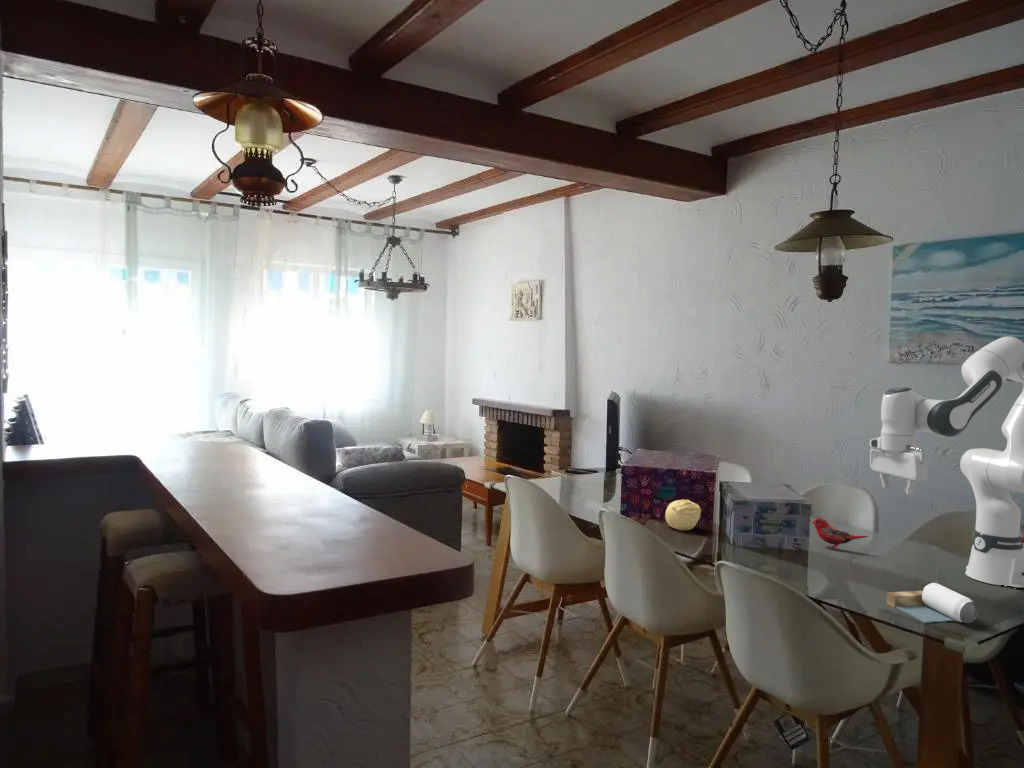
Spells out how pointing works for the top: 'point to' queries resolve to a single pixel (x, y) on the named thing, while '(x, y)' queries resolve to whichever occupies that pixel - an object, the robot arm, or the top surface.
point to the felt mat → (925, 614)
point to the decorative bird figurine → (832, 533)
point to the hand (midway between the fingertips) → (897, 491)
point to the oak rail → (905, 598)
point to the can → (949, 603)
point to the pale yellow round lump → (682, 514)
